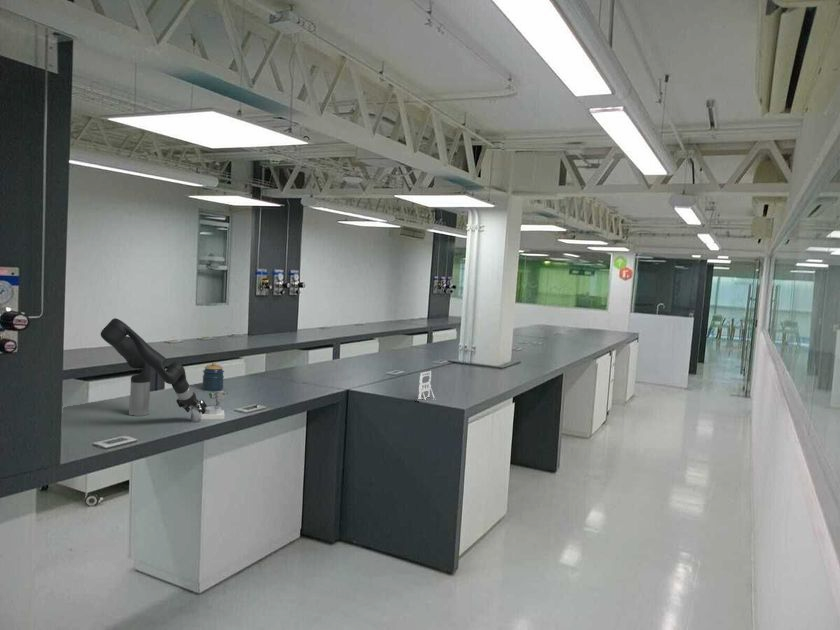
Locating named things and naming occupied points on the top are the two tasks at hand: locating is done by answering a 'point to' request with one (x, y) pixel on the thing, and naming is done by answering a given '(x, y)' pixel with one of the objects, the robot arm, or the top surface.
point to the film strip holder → (424, 385)
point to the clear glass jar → (195, 414)
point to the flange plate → (213, 413)
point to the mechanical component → (218, 396)
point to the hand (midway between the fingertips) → (196, 411)
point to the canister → (213, 377)
